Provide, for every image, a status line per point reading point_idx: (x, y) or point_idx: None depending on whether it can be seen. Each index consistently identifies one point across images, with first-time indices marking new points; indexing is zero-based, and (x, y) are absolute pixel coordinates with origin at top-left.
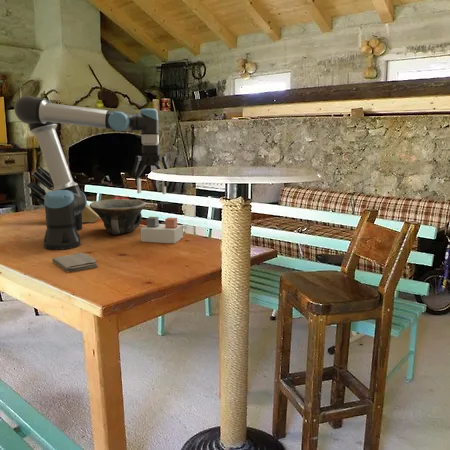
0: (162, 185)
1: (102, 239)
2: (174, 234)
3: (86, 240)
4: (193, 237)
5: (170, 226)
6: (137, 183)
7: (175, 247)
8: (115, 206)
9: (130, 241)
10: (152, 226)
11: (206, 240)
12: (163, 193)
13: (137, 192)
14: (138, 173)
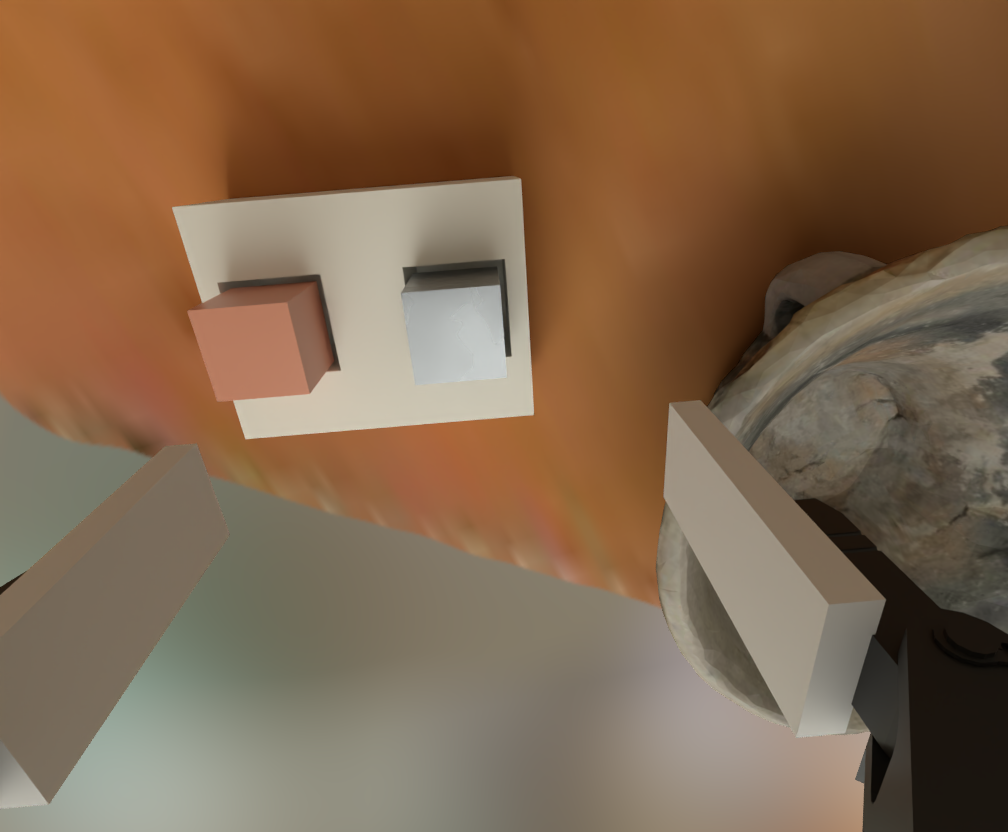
0: (85, 547)
1: (848, 145)
2: (193, 204)
3: (975, 63)
4: (217, 422)
5: (257, 289)
6: (787, 509)
7: (135, 58)
8: (973, 613)
9: (596, 151)
10: (440, 274)
11: (75, 367)
12: (173, 452)
13: (703, 408)
14: (981, 825)
